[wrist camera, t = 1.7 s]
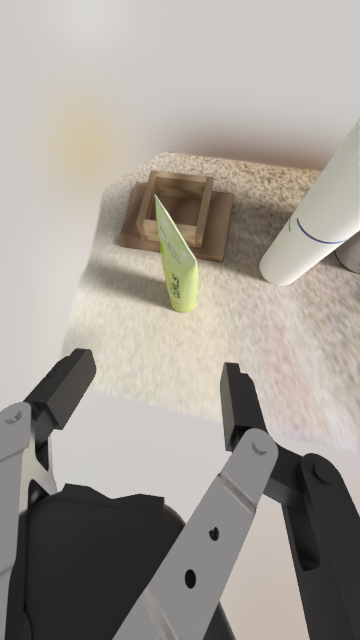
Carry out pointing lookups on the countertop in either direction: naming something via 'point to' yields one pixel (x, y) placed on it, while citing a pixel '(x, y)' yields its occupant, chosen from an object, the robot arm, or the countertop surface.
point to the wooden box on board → (179, 214)
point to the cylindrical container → (319, 217)
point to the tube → (177, 263)
